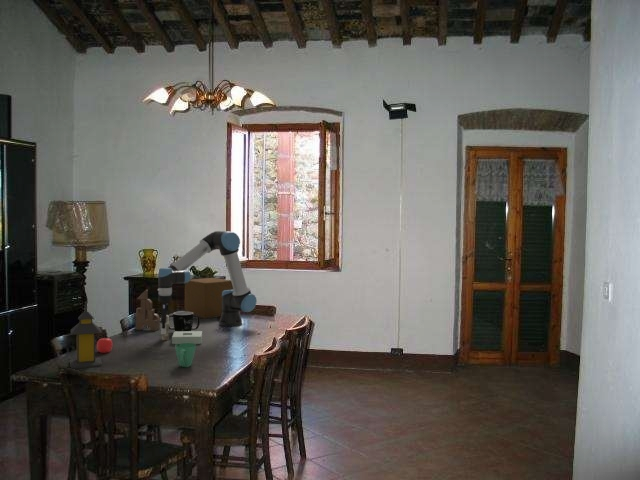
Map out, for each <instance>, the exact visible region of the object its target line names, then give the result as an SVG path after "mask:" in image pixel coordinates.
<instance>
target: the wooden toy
mask: <svg viewBox="0 0 640 480" xmlns="http://www.w3.org/2000/svg"><path fill="white" fill-rule="evenodd" d="M148 294H149V289H145V290H144V291H143V292H142V293H141V294H140V295H139V296H138V297H136V299H137V300H140V307H137V308H136V310H135V311H136V315H135V326H134V328H135V330H136V331H142V330H143V329H144V327H146V326H147V327H149V329H150V331H153V332H154V331H158V330H161V323H160V321H161V316H159V314H158V313H155V309H154V308H153V301H152V300H151V299H150V298H149V295H148Z"/></svg>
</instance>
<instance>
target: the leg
mask: <svg viewBox="0 0 640 480" xmlns="http://www.w3.org/2000/svg"><path fill="white" fill-rule="evenodd" d="M169 324H170V318H169V315H166V334H161V341H168V340H169V331H170V329H169Z"/></svg>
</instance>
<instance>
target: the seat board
mask: <svg viewBox="0 0 640 480" xmlns="http://www.w3.org/2000/svg"><path fill="white" fill-rule="evenodd" d="M173 331H174V332H173V333H172V336H171V344H172V345H176V344H178V345H179V344H180V343H193V344H196V345H198V344H199V345H200V344H201V345H202V341H203V331H202V330H191V331H175V330H173Z"/></svg>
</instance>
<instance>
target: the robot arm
mask: <svg viewBox="0 0 640 480" xmlns="http://www.w3.org/2000/svg"><path fill="white" fill-rule="evenodd" d="M240 245H241V239H240V236H239V235H238V233H236V232H233V231H229V230H227V231H224V230H223V231H222V230H216V231H213V232H210V233H209V234H207V235H206V236H204V237H203V238H202V239H201V240H199V243H198V244H197V245H196V246H194V247H193V248H192V249H190V250H188V252H186V253H185V254H183V255H181V257H180V258H178V259H177V260H176V261H174V262H173V263H171V265H169V266H168V267H160V268H159V269H158V275H157V276H158V288H157V291H158V297H157V300H158V302H159V303H162V304H161V305H160V307H161V310H160V311H161V313H160V314H161V315H160V332H161V333H160V334H161V335H162V334H166V315H169V314H170V313H169V312H170V311H169V310H170V309H169V308H170V305H169V303H172V302H173V299H172V298H173V295H172V294H173V285H177V284H185V283H188V282H189V281H190V280H191V279H192V275H191V272H190V271H189V270H187V269H188V268H189V267H190V266H193V264H194V263H196V262H197V261H199V260H200V259H201V258H202V257H204V256H205V255H207V254H210V253H211V252H212V251H216V250H219V253H220V255H221V256H222V257H223V258H224V262H225V264H226V268H227V272H228V274H229V278H230V279H229V280H231V282H232V286H233V290H224V291H223V292H222V314H221V317H219V321H218V325H219V326H223V327H239V326H242V325H243V320H242V317H241V313H240V311H241V312H244V313H245V312H246V313H249V312H252V311H253V310H254V309H255V307H256V305H257V297H256V295H254V294H253V293H252V292H251V288H250V287H248V286H247V283H246V279H245V275H244V272H243V268H242V265H241V262H240V257H239V254H238V252H239V248H240ZM170 318H171V317H170V316H169V319H170Z"/></svg>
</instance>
